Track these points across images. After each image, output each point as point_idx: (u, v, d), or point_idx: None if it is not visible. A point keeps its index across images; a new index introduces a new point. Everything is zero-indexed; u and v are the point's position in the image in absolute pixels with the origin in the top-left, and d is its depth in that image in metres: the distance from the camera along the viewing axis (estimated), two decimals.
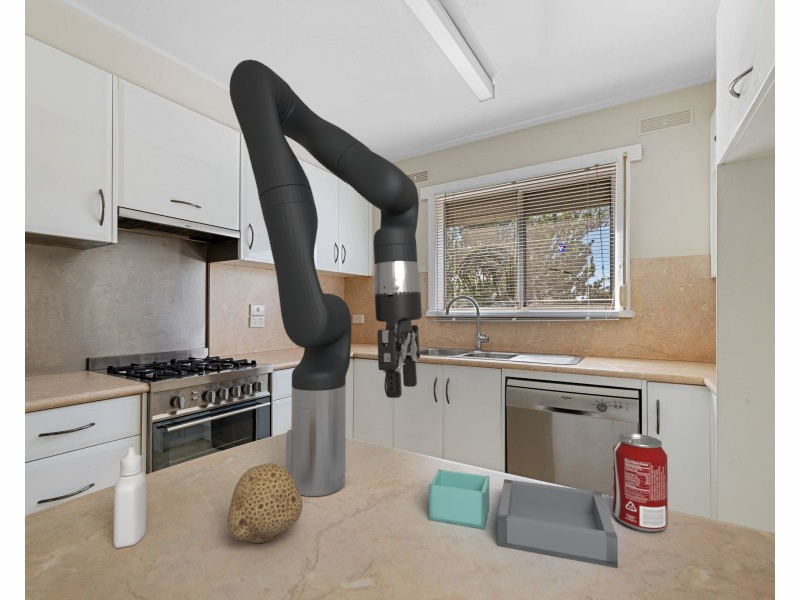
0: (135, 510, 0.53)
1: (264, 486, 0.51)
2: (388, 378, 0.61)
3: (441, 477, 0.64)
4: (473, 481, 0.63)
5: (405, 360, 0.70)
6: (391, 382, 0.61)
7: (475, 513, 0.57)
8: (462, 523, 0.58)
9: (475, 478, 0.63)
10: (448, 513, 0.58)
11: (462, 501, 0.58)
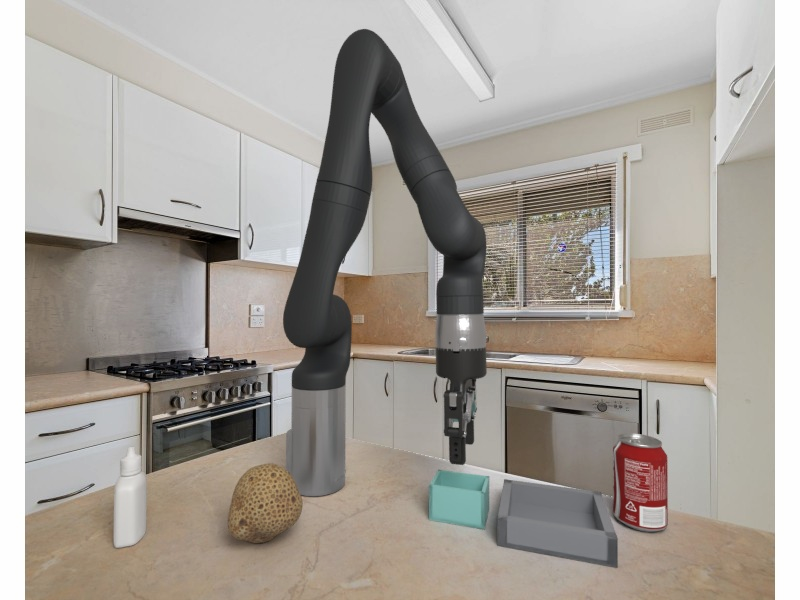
0: (135, 510, 0.53)
1: (264, 486, 0.51)
2: (452, 444, 0.56)
3: (441, 477, 0.64)
4: (473, 481, 0.63)
5: None
6: (456, 448, 0.56)
7: (475, 513, 0.57)
8: (462, 523, 0.58)
9: (475, 478, 0.63)
10: (448, 513, 0.58)
11: (462, 501, 0.58)
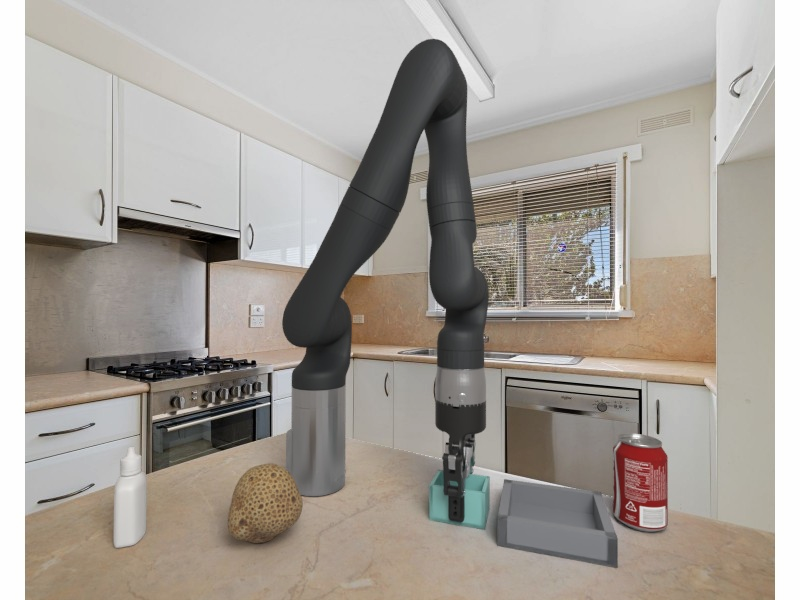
0: (135, 510, 0.53)
1: (264, 486, 0.51)
2: (452, 501, 0.57)
3: (441, 477, 0.64)
4: (473, 481, 0.63)
5: None
6: (455, 506, 0.57)
7: (475, 513, 0.57)
8: (462, 523, 0.58)
9: (476, 479, 0.62)
10: None
11: None
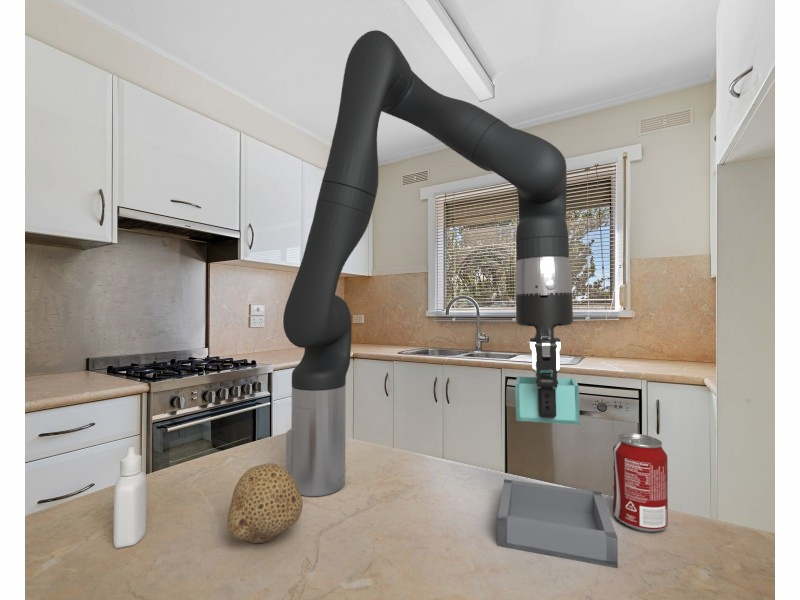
0: (135, 510, 0.53)
1: (264, 486, 0.51)
2: (543, 396, 0.53)
3: None
4: None
5: (541, 374, 0.60)
6: (547, 400, 0.53)
7: (568, 408, 0.53)
8: (554, 420, 0.54)
9: (560, 381, 0.59)
10: (538, 411, 0.55)
11: None
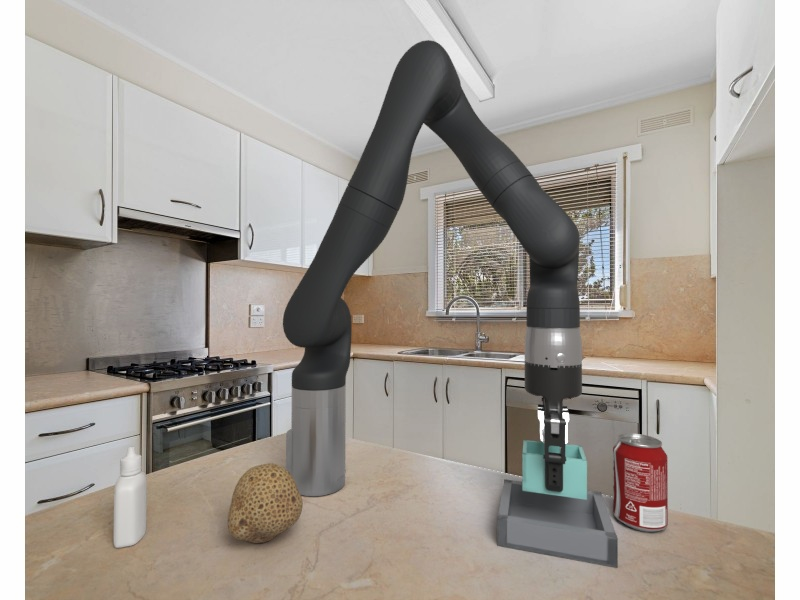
0: (135, 510, 0.53)
1: (264, 486, 0.51)
2: (550, 469, 0.53)
3: (528, 447, 0.60)
4: None
5: None
6: (554, 474, 0.53)
7: (576, 482, 0.53)
8: (561, 493, 0.54)
9: (567, 448, 0.59)
10: (544, 483, 0.54)
11: None
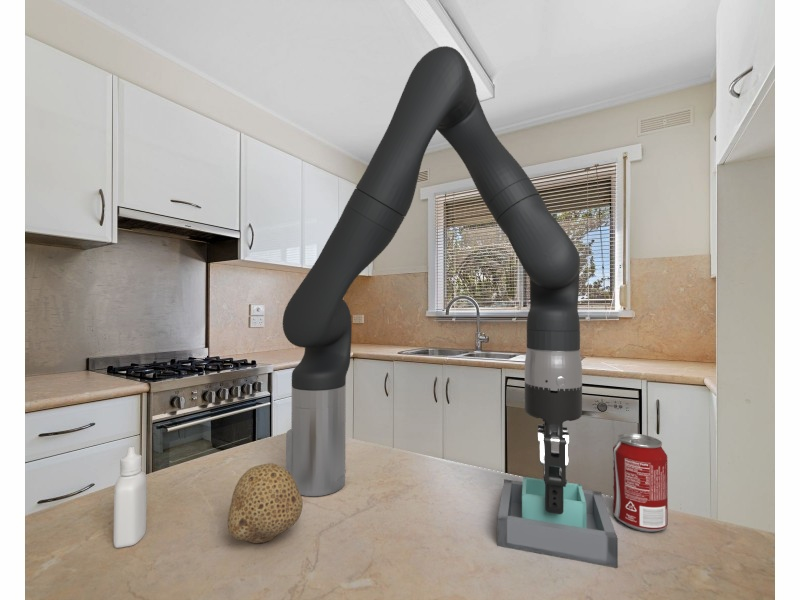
0: (135, 510, 0.53)
1: (264, 486, 0.51)
2: (550, 491, 0.52)
3: (527, 485, 0.60)
4: (563, 489, 0.59)
5: None
6: (554, 497, 0.52)
7: (575, 525, 0.53)
8: None
9: (566, 487, 0.58)
10: None
11: None
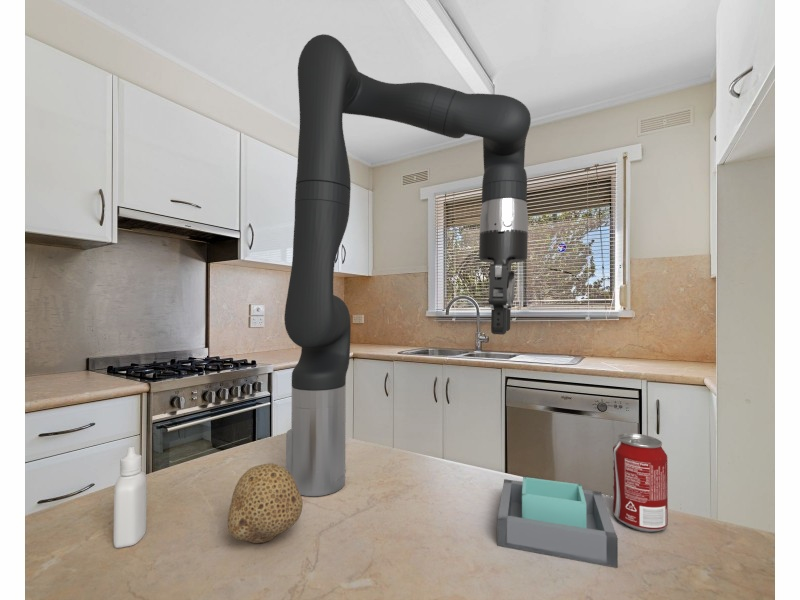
0: (135, 510, 0.53)
1: (264, 486, 0.51)
2: (495, 314, 0.60)
3: (527, 485, 0.60)
4: (563, 489, 0.59)
5: None
6: (498, 318, 0.60)
7: (575, 525, 0.53)
8: None
9: (566, 487, 0.58)
10: None
11: (560, 512, 0.54)
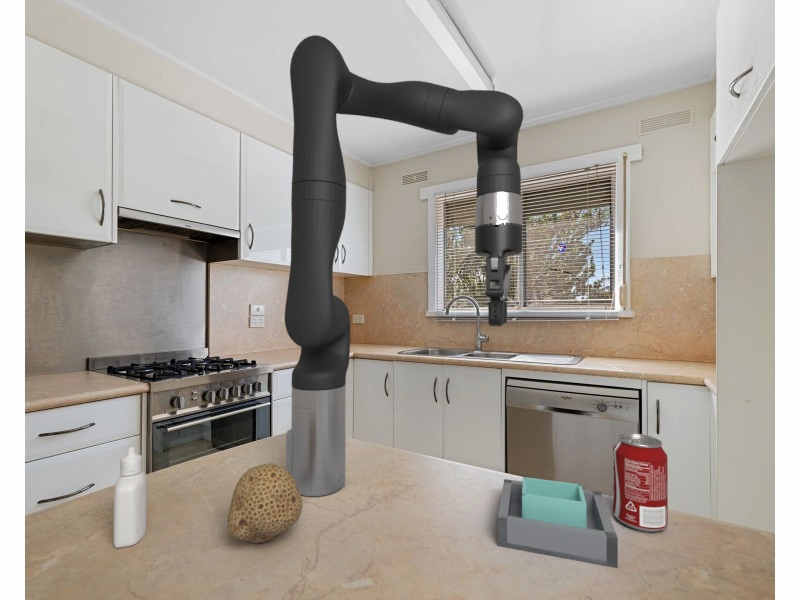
0: (135, 510, 0.53)
1: (264, 486, 0.51)
2: (492, 306, 0.61)
3: (527, 485, 0.60)
4: (563, 489, 0.59)
5: None
6: (495, 310, 0.61)
7: (575, 525, 0.53)
8: None
9: (566, 487, 0.58)
10: None
11: (560, 512, 0.54)
